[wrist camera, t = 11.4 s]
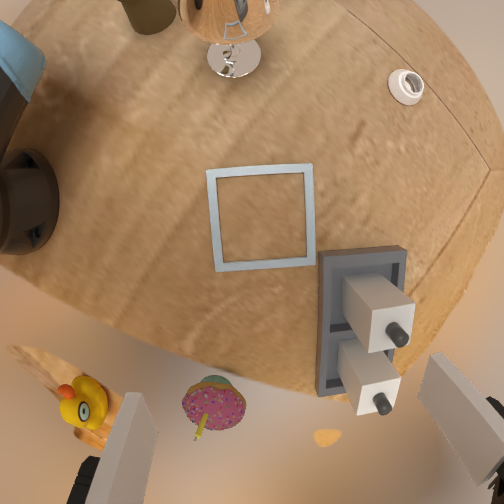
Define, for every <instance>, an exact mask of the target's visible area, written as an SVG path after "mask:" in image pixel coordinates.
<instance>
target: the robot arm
mask: <svg viewBox="0 0 504 504" xmlns="http://www.w3.org/2000/svg"><path fill="white" fill-rule="evenodd" d="M45 66H46V60H45V56H44V54H43V53H42V51H41V50H40V49H39V48H37V47H36V46H35V45H34V44H33V43H32V42H30V41H29V40H28V39H27V38H25V37H24V36H23V35H21V34H20V33H19V32H17V31H16V30H14V29H13V28H12V27H10V26H9V25H7V24H6V23H4V22H3V21H1V20H0V254H8V255H24V254H28V253H30V252H32V251H35V250H37V249H39V248H40V247H42V246H43V245H44V244H45V243H46V242H47V240H48V239H49V238H50V236H51V234H52V232H53V230H54V227H55V224H56V221H57V216H58V209H59V193H58V186H57V181H56V178H55V175H54V172H53V170H52V168H51V166H50V164H49V163H48V161H47V160H46V159H45V157H44V156H42V155H41V154H40V153H39V152H37V151H35V150H32V149H12V150H9V151H7V152H5V151H6V149H7V146H8V144H9V142H10V139H11V137H12V135H13V133H14V130H15V128H16V126H17V124H18V122H19V120H20V118H21V116H22V114H23V112H24V110H25V108H26V106H27V104H29V103H30V101H31V95H32V93H33V91H34V89H35V87H36V85H37V84H38V82H39V80H40V78H41V76H42V74H43V72H44V70H45ZM417 397H418V398H419V400H420V401H421V402H422V404H423V405H424V407H425V408H426V410H427V411H428V413H429V414H430V416H431V417H432V418H433V420H434V421H435V423H436V424H437V426H438V427H439V429H440V430H441V432H442V433H443V435H444V436H445V438H446V439H447V441H448V442H449V444H450V445H451V447H452V448H453V450H454V452H455V453H456V454H457V456H458V458H459V459H460V461H461V462H462V464H463V465H464V467H465V469H466V470H467V472H468V473H469V475H470V477H471V478H472V480H473V481H474V483H475V485H476V486H479V485H481V484H482V483H484V482H486V481H487V480H489V479H490V478H491V477H492V475H493V474H494V473H495V472H497V473H498V476H497V477H496V478H495V479H494V480H493V481H492V482H491V484H490V485H489V487H488V489H490V488H491V487H492V486H493V485H494V484H495V486H494V488H493V489H494V492H493V497H492V502H491V504H504V407H503V406H502V405H501V403H500V402H499V401H497V400H496V399H494V398H492V397H490V396H489V397H488V398H485V397H484V396H483V395H482V394H481V393H480V392H479V391H478V390H477V389H476V387H474V385H473V384H472V383H471V382H470V381H469V380H468V379H467V378H466V377H465V376H464V374H463V373H462V372H460V370H459V369H458V368H457V367H456V366H455V365H454V364H453V363H452V362H451V361H450V360H449V359H448V358H447V357H446V356H445V355H444V353H442V352H439V353H436V354H432V355H430V356H429V360H428V363H427V367H426V370H425V374H424V377H423V380H422V384H421V387H420V390H419V393H418V396H417ZM157 436H158V430H157V427H156V425H155V423H154V421H153V418H152V416H151V413H150V411H149V409H148V406H147V404H146V401H145V399H144V396H143V394H142V392H126V394H125V397H124V399H123V401H122V404H121V406H120V409H119V411H118V414H117V416H116V419H115V421H114V424H113V426H112V429H111V431H110V434H109V437H108V439H107V442H106V445H105V447H104V450H103V453H102V455H101V458H99V457H93V456H89V457H88V458H87V459H86V460H85V461H84V462H83V463H82V464H81V467H80V469H79V472H78V476H77V477H76V479H75V484H74V485H73V487H72V490H71V493H70V495H69V498H68V501H67V504H143V501H144V496H145V490H146V486H147V481H148V477H149V471H150V467H151V463H152V458H153V454H154V449H155V445H156V440H157Z"/></svg>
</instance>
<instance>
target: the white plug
mask: <svg viewBox="0 0 504 504" xmlns="http://www.w3.org/2000/svg"><path fill="white" fill-rule="evenodd" d="M337 372H338V374H339V376H340V378H341V381H342V383H343V385H344V388H345V390H346V392H347V395H348V397H349V400H350V402H351V404H352V406H353V409H354V411H355V414H356V416H358V415H363V414H367V413H371V412H376V411H378V412H379V414H380V415H386V414H388V413H389V412H390V411H391V410H392V408H393V406H394V403H395V400H396V396H397V392H398V388H399V385H400V381H401V376H400V375H399V373H398V372H397V370H396V369H395V367H394V366H393V364H392V363H391V362H390V360H389V359H388V357H387V356H386V355H385V353H384V352H383V351H378V352H373V353H367V351H366V350H365V348H364V347H363V345H362V343H361V342H360V340H359V339H358V338H357V339H350V340H343V341H339V349H338V360H337Z"/></svg>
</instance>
